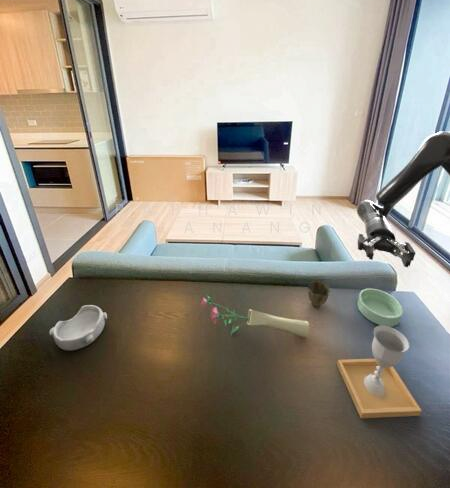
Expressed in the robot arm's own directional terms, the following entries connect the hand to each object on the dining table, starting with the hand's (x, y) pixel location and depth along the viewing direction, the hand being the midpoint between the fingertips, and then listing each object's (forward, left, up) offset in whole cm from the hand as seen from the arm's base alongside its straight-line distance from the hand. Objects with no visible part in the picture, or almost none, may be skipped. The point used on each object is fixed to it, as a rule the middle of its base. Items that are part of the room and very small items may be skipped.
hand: (389, 260), depth 68 cm
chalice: (+6, +14, -30) cm, 33 cm away
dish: (+92, -5, -30) cm, 97 cm away
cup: (+11, -14, -30) cm, 35 cm away
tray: (+6, +14, -30) cm, 34 cm away
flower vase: (+36, -4, -30) cm, 47 cm away
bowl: (-10, -10, -30) cm, 33 cm away
